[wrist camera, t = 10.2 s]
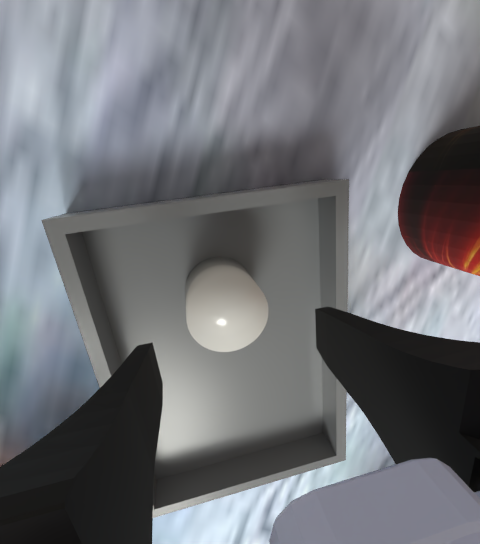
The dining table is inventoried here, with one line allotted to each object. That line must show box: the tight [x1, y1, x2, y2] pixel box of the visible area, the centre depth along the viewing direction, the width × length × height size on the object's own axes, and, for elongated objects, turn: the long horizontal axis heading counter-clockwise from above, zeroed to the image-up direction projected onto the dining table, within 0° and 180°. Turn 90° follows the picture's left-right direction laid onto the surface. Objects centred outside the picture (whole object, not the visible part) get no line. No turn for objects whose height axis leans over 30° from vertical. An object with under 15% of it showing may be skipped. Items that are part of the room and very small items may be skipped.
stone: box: [185, 257, 268, 352], centre depth 17 cm, size 4×4×4 cm
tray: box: [42, 179, 349, 518], centre depth 19 cm, size 22×16×3 cm
